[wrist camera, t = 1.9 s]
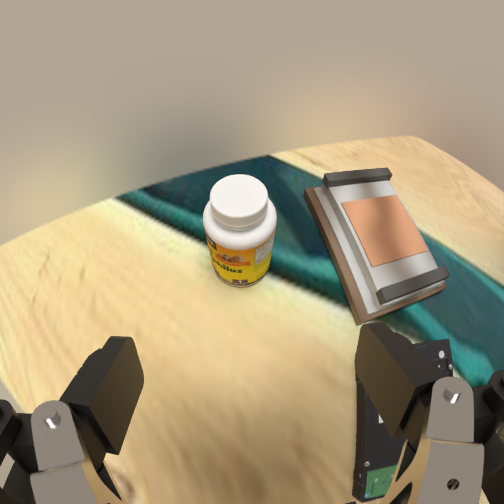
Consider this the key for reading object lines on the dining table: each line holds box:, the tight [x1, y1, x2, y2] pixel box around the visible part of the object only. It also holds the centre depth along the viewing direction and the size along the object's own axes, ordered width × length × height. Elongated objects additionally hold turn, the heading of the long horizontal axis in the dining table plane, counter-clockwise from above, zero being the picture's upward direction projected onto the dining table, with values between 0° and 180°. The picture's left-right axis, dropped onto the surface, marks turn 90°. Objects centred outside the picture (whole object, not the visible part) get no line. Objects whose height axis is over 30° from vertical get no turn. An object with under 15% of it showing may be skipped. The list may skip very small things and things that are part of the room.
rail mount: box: [304, 168, 450, 325], centre depth 27 cm, size 12×16×4 cm
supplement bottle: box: [203, 175, 277, 287], centre depth 23 cm, size 6×6×10 cm
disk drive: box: [352, 339, 453, 503], centre depth 19 cm, size 10×3×15 cm
